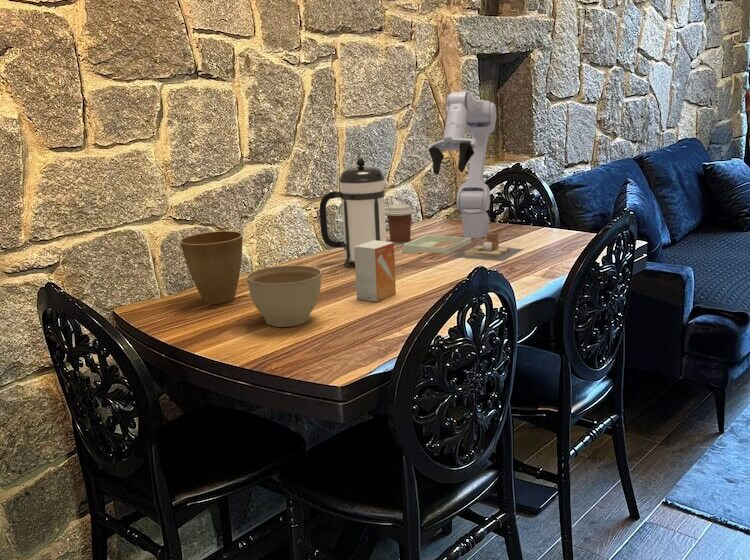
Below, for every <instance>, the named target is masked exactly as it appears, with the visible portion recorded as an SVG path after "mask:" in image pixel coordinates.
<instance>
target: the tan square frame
mask: <svg viewBox="0 0 750 560" xmlns="http://www.w3.org/2000/svg"><path fill="white" fill-rule="evenodd" d="M486 242H492V251H493V252H487V251H483V244H478V245H477V246H475V247H473V248H471V249H469V250H467V251H465V252H464V254H465V255H468V256H480V257H491V258H498V257H500V256H501V255H503V254H505V253H507V252H509V251H510V248H511V247H510V246H499V232H491V231H489V233H488V234H487V237H486Z"/></svg>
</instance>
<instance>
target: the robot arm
mask: <svg viewBox="0 0 750 560" xmlns="http://www.w3.org/2000/svg"><path fill="white" fill-rule="evenodd" d="M445 111H446V113H445V114H446V120H445V126H444V132H443V137H442V139H441V140H438V141H436V142H433V143H428V145H427V151H428V152H429V155H430V157H431V161H432V167H433V170H432V172H433V174H435V175H439V174H440V170H441V165H442V161H443V159H444V157H445V155H444V154H443V152H444V151H451V152H452V151H455V152H457V151H459V158H458V164H457V170H458V171H460V173H463V172H464V170H465V169H466V166H467V164H468V163H469V168H468V176H467V180H466V181H465V182H462V183H461V184H460V185H459V187H458V192H457V194H456V207H457V209H458V210H459V211H460V213H461V216H462V218H461V219H462V221H461V222H462V223H461V224H462V225H461V226H462V237H463V238H471V239H480V238H487V234H488V233H490V218H489V217H490V216H489V214H488V213H487V211H488V209H490V205H491V190H490V188H489V185H488V184H486V183H485V182H484V172H485V164H486V155H487V149H488V148H487V147H488V140H489V136H490V134H492V133H494V132H495V128H496V124H497V123H496V121H497V107H496V104H495V103H494V102H491V101H490V100H485V99H478V98H477V99H476V98H475V96H474V95H472V93H471V91H470V90H469V91H464V90H459V91H458V92H456V91H455V92H454V91H453V92H452V91H451V92H450V94H447V96H446V110H445ZM466 132H467V133H469V134H471V135H472V138H469V137H465V133H466ZM442 151H443V152H442Z"/></svg>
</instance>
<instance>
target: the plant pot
mask: <svg viewBox="0 0 750 560" xmlns="http://www.w3.org/2000/svg"><path fill="white" fill-rule="evenodd" d="M179 244H180V247H181V251H182V254H183V258H184V260H185V264H186V266H187V269H188V271H189V273H190V276H191V278H192V281H193V283H194V286H195V287H196V289H197V292H198V293H199V295H200V296H201V298H202V300H203V302H204V303H205V304H206V305H207V304H208V305H219V304H226V303H229V302H232V301H233V300H234V299H235V297H236V292H237V289H238V285H239V280H240V273H241V268H242V267H241V265H242V257H243V233H242V232H240V231H234V230H218V231H208V232H206V231H205V232H201V233H195V234H192V235H191V234H190V235H188V236H185V237H183V238H181V239H180V240H179Z"/></svg>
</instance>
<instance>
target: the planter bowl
mask: <svg viewBox="0 0 750 560" xmlns="http://www.w3.org/2000/svg"><path fill="white" fill-rule="evenodd" d="M246 282H247V284H248V290H249V294H250V297H251V300H252V302H253V304H254V306H255V307H256V309H257V311H258V312H259V313H260V314H261V316H263V317H264V320H265V323H266V324H267V325H269V326H272V327H277V328H289V327H295V326H300V325H303V324H305V323H307V322H308V321H309V320H310V314H311V313H312V312H313V310H314V308H315V306H316V305H317V302H318V300H319V298H320V294H321V293H320V292H321V285H322V270H320V269H319V268H317V267H313V266H308V265H277V266H269V267H265V268H262V269H257V270H254V271H252V272H250V273H248V274H247V275H246Z"/></svg>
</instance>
